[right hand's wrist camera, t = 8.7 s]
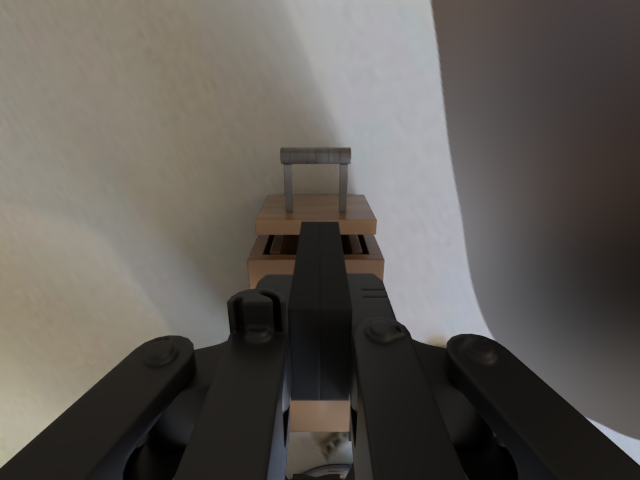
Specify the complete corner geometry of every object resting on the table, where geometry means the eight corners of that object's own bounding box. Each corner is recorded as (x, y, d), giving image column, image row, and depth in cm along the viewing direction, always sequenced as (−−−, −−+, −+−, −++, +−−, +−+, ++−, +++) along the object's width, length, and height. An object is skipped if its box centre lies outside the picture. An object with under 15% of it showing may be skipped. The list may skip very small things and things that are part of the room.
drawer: (265, 140, 32) (250, 151, 24) (366, 140, 32) (380, 151, 25) (276, 337, 39) (266, 389, 32) (357, 336, 40) (366, 389, 32)
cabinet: (265, 219, 36) (247, 259, 26) (367, 219, 36) (384, 259, 26) (273, 360, 42) (261, 432, 33) (360, 360, 42) (372, 432, 33)
